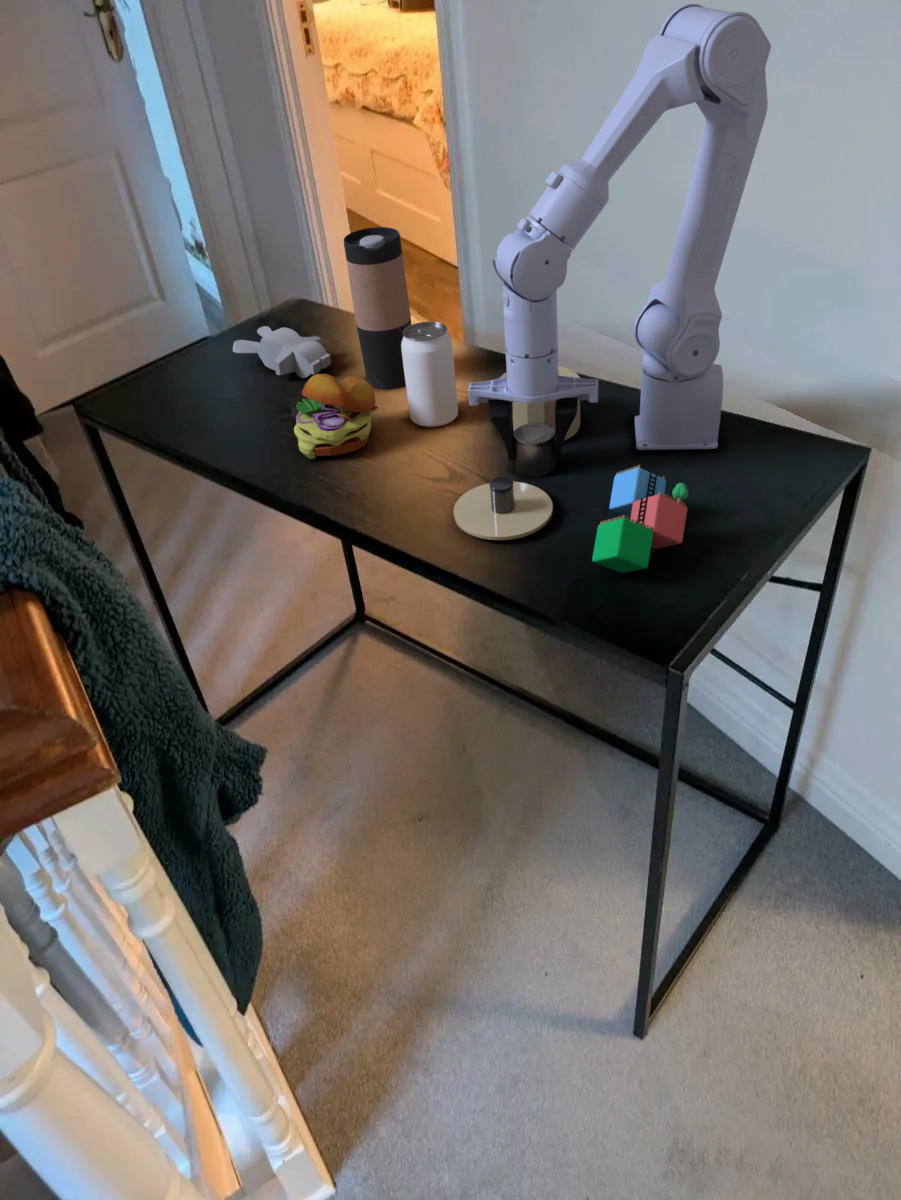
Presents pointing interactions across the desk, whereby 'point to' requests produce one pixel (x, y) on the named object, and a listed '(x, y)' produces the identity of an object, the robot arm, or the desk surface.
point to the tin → (534, 449)
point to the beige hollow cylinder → (543, 409)
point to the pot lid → (503, 510)
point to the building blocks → (639, 520)
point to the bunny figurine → (287, 351)
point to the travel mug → (379, 302)
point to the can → (429, 374)
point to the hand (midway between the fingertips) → (535, 456)
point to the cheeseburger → (334, 415)
